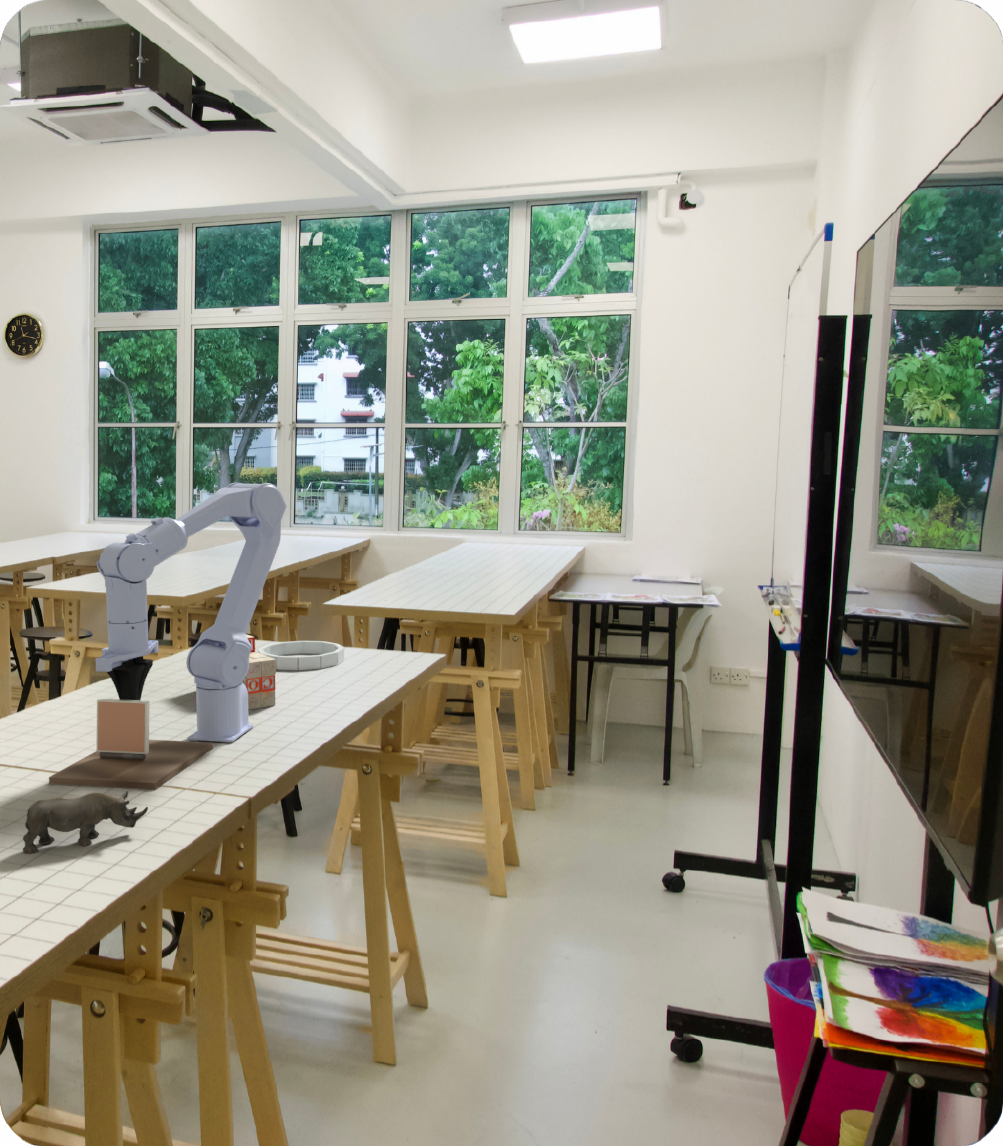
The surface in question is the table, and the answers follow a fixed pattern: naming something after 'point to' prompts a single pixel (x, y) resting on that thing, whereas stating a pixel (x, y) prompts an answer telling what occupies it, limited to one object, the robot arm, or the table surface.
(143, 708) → the tile
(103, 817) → the rhino figurine
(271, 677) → the stack of blocks
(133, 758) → the board
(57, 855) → the table surface
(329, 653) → the shell dish rim
